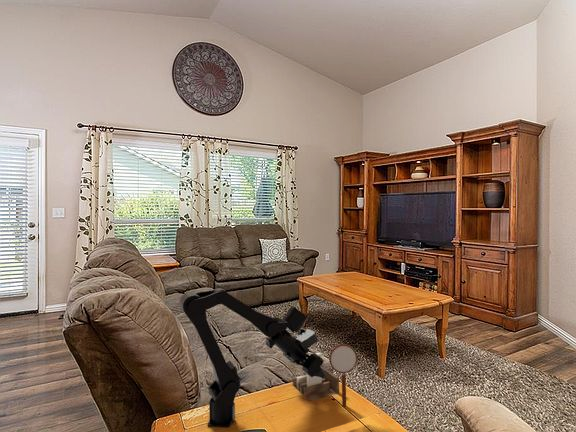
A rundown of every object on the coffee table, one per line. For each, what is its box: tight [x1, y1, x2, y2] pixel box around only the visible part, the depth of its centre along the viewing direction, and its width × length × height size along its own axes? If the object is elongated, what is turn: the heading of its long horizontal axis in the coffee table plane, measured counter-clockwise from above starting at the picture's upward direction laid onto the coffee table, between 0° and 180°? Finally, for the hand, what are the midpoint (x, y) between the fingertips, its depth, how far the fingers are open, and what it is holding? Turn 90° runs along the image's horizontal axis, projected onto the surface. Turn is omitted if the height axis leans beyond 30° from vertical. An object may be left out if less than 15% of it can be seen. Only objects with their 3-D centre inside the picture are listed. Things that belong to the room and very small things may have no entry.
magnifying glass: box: [328, 343, 358, 408], centre depth 104 cm, size 9×2×20 cm, turn 94°
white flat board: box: [306, 352, 322, 387], centre depth 114 cm, size 5×1×12 cm, turn 116°
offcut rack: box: [291, 365, 340, 402], centre depth 115 cm, size 11×13×6 cm
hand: (317, 371), depth 114 cm, fingers open, 8 cm apart
